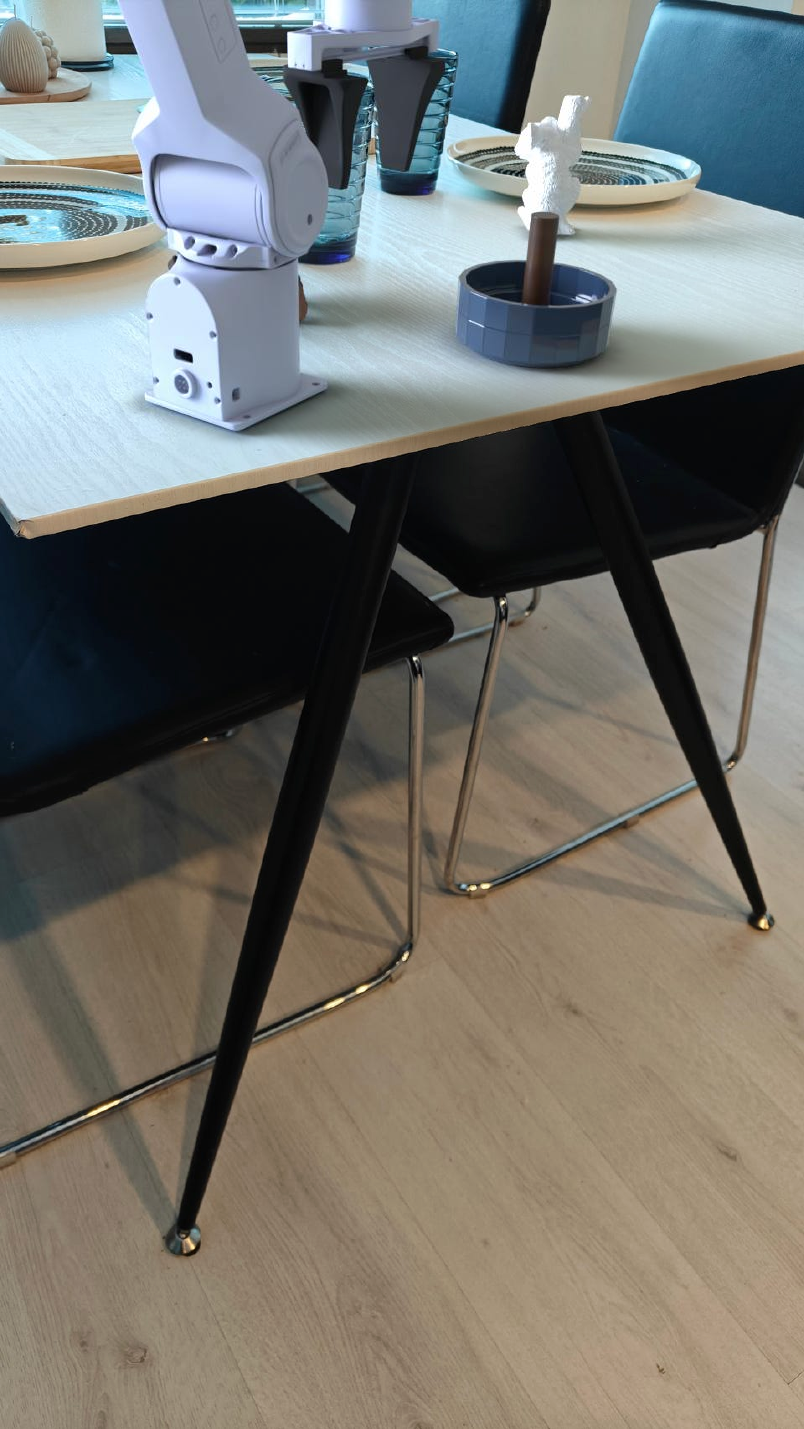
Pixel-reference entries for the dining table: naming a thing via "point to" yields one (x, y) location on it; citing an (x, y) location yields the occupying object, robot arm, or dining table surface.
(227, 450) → the dining table surface
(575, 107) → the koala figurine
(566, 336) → the bowl
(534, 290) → the muddler
